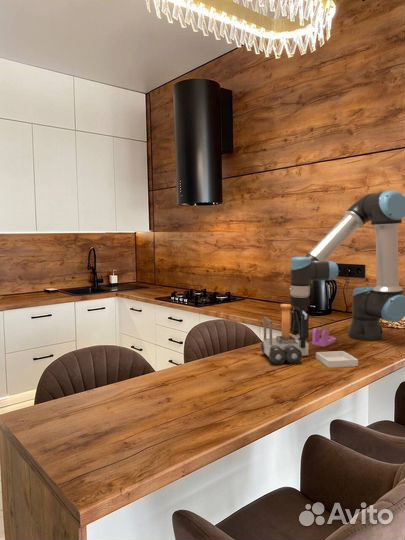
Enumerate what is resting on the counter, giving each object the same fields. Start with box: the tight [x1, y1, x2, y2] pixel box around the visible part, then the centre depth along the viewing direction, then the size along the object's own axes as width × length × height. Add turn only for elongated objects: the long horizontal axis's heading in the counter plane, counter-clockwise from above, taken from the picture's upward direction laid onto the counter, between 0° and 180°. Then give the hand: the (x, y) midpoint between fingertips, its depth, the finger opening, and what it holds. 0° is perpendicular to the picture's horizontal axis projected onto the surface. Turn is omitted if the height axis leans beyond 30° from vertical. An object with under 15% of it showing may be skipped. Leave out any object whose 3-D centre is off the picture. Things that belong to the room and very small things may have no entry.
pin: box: [279, 303, 292, 339], centre depth 158 cm, size 4×4×14 cm
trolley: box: [260, 316, 303, 366], centre depth 158 cm, size 12×14×16 cm
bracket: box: [311, 327, 337, 348], centre depth 182 cm, size 13×6×7 cm, turn 137°
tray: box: [315, 350, 359, 369], centre depth 154 cm, size 11×11×2 cm
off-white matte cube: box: [295, 340, 309, 356], centre depth 166 cm, size 6×6×5 cm
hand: (298, 352), depth 166 cm, fingers open, 6 cm apart
